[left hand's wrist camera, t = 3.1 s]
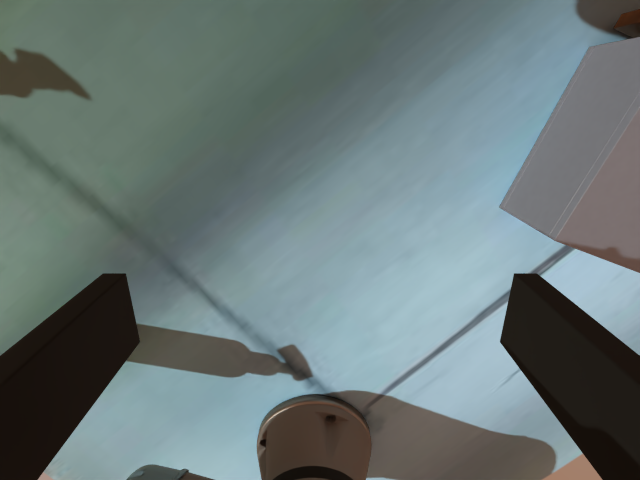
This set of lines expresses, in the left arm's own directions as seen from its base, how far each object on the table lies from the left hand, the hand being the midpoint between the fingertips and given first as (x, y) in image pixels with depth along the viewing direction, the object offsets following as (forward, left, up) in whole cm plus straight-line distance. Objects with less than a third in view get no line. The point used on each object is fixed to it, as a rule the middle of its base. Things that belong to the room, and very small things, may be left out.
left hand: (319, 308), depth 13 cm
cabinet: (-10, -25, -27) cm, 38 cm away
